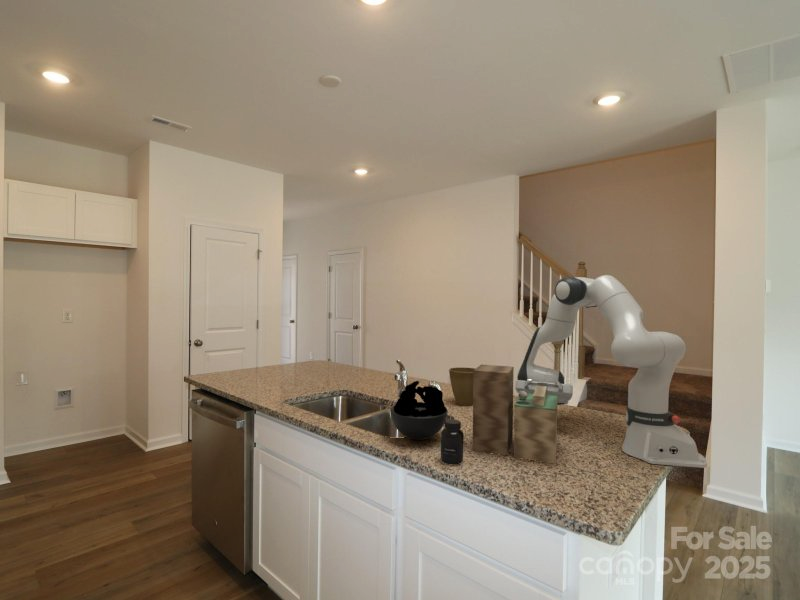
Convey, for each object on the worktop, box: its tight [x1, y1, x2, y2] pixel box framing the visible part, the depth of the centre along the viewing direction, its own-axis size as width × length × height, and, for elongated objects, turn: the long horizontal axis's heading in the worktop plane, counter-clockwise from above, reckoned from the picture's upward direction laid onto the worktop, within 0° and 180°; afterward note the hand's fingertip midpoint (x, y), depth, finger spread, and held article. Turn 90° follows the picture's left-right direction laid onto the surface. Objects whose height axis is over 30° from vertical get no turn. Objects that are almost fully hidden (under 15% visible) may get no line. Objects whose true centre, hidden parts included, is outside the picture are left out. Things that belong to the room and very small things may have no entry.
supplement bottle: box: [440, 418, 465, 465], centre depth 125 cm, size 7×7×12 cm
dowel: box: [533, 382, 547, 407], centre depth 136 cm, size 3×22×3 cm, turn 158°
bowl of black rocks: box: [389, 380, 448, 441], centre depth 145 cm, size 20×20×19 cm
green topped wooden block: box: [513, 391, 558, 465], centre depth 134 cm, size 12×18×19 cm, turn 158°
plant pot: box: [448, 366, 476, 407], centre depth 193 cm, size 15×15×16 cm
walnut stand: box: [471, 364, 514, 456], centre depth 137 cm, size 11×13×26 cm
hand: (542, 382), depth 150 cm, fingers open, 8 cm apart
